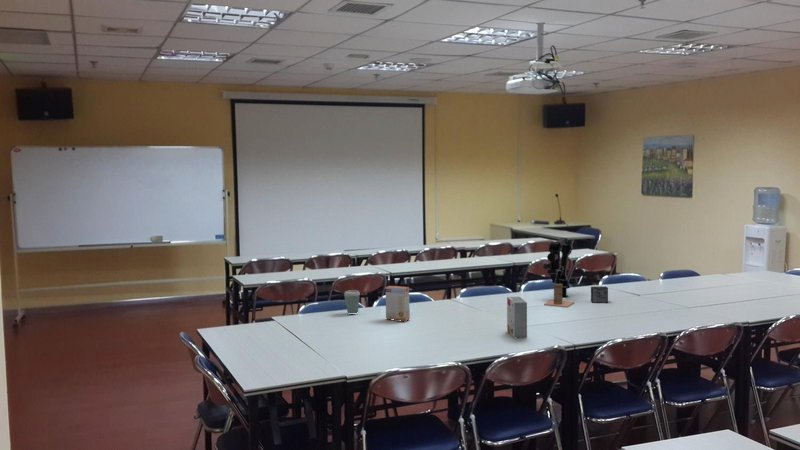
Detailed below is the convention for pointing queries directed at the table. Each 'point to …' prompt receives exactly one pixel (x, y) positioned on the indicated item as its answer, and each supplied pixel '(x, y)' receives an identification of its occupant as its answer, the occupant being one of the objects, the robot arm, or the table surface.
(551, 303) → the terracotta mat
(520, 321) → the hard drive box
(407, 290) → the cracker box
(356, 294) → the disposable coffee cup
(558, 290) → the walnut block
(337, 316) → the table surface
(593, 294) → the small box
